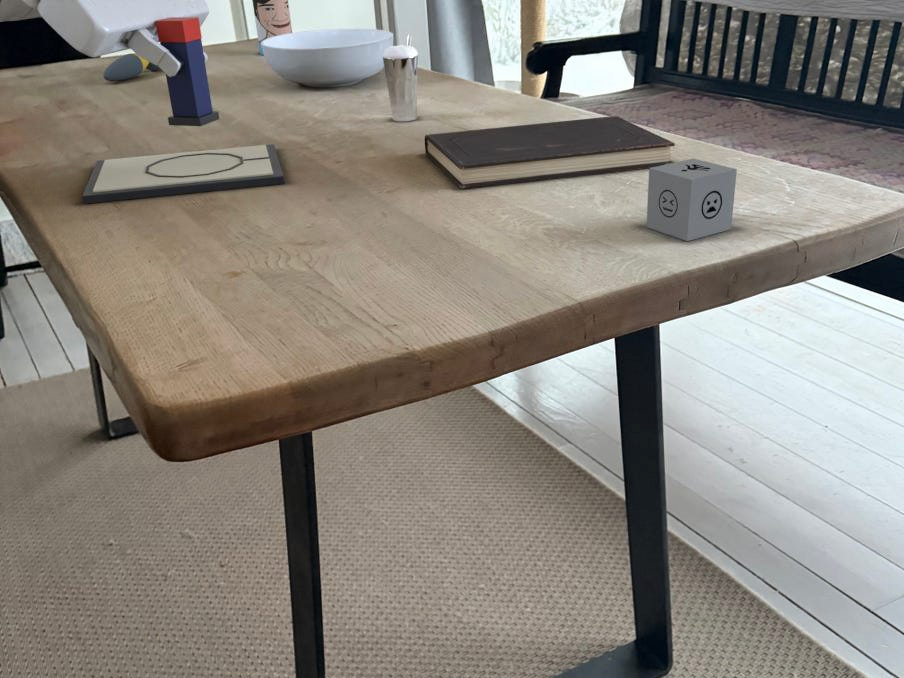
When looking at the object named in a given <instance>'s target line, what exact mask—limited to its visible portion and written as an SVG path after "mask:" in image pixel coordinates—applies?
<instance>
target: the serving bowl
mask: <svg viewBox="0 0 904 678" xmlns="http://www.w3.org/2000/svg"><path fill="white" fill-rule="evenodd" d="M390 46H394V33H393V32H392V31H388V30H384V29H377V28H331V29H316V30H306V31H297V32H292V33H289V34H283V35H278V36H274V37H271V38H268V39H265V40H263V41H262V42H261V47H262V50H263V54H264V55H263V56H264V59H265V61H266V63H267V65H268V66H269V67H270V68H271V70H272V71H273V72H274V73H275V74H276V75H278V76H279V77H280V78H282V79H285V80H287V81H290V82H292V83H297V84H302V85H304V86H307V87H311V88H339V87H346V86H351V85H355V84H357V83H359V82H361V81H362V80H365V79H368V78H371V77H373V76H375V75H377V74H378V73H380V72H381V71H382V70H383V69H385V68H384V63H383V57H382V53H383V51H384V50H385V49H386V48H388V47H390Z"/></svg>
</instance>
